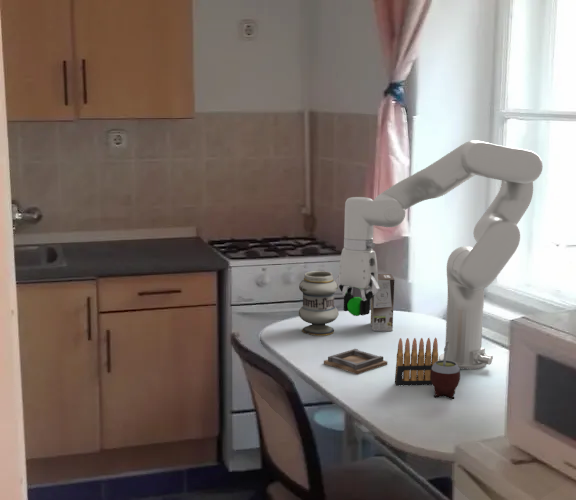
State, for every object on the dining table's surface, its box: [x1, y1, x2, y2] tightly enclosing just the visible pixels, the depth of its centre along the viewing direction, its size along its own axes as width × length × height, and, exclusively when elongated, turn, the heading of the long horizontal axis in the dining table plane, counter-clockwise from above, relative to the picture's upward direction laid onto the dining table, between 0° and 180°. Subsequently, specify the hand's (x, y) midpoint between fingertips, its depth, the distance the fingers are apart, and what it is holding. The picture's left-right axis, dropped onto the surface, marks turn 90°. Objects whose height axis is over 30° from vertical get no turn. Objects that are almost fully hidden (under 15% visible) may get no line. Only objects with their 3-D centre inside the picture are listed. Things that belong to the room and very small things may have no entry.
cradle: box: [323, 348, 388, 375], centre depth 228 cm, size 12×12×2 cm
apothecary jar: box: [298, 270, 340, 337], centre depth 258 cm, size 12×12×18 cm
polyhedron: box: [347, 296, 362, 317], centre depth 226 cm, size 5×5×5 cm
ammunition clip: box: [394, 337, 439, 387], centre depth 212 cm, size 11×2×12 cm, turn 94°
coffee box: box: [370, 273, 395, 332], centre depth 264 cm, size 9×6×16 cm
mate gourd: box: [430, 341, 461, 400], centre depth 204 cm, size 8×8×15 cm
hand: (356, 311), depth 226 cm, fingers closed on polyhedron, 5 cm apart
